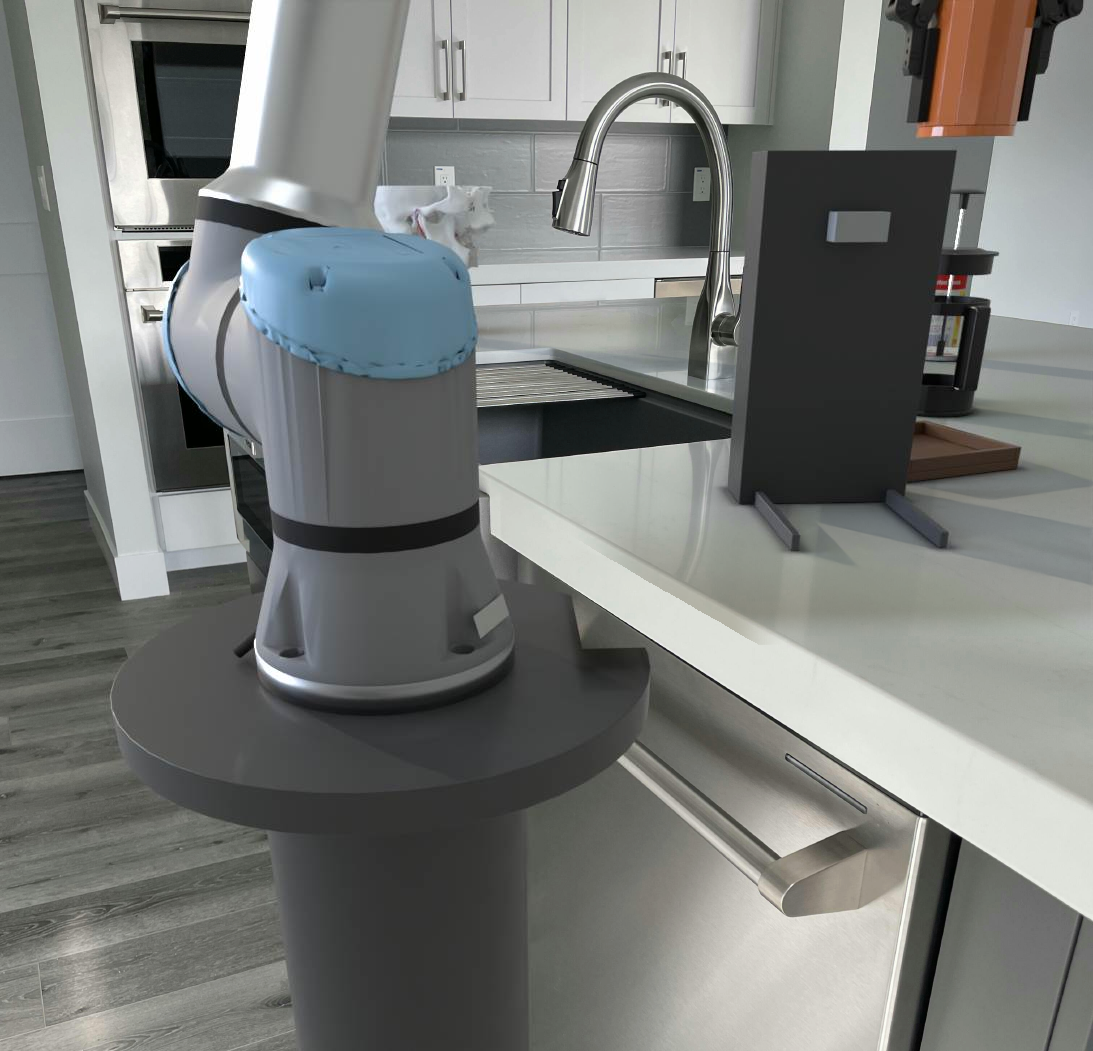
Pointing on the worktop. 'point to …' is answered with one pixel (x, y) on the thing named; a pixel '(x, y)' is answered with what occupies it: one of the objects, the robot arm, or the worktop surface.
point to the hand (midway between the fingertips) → (966, 121)
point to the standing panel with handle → (836, 327)
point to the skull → (437, 215)
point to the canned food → (952, 321)
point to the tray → (956, 453)
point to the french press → (957, 391)
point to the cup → (978, 68)
